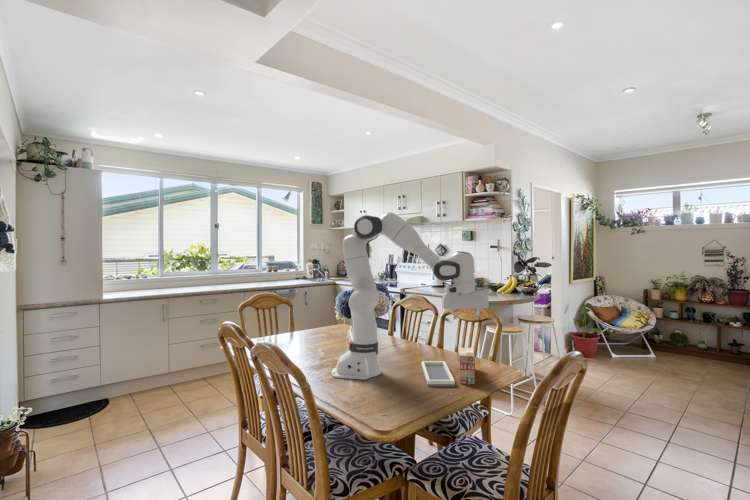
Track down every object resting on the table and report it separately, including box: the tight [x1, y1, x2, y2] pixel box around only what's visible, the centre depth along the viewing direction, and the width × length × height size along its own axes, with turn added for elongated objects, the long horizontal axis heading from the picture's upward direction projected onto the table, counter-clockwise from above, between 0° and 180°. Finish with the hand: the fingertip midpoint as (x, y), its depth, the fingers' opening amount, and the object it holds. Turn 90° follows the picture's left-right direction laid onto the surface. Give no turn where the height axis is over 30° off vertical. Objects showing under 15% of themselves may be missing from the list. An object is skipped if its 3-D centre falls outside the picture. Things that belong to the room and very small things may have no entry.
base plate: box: [421, 360, 456, 388], centre depth 164 cm, size 11×26×2 cm, turn 178°
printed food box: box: [457, 347, 476, 386], centre depth 163 cm, size 21×6×12 cm, turn 169°
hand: (465, 319), depth 163 cm, fingers open, 8 cm apart
